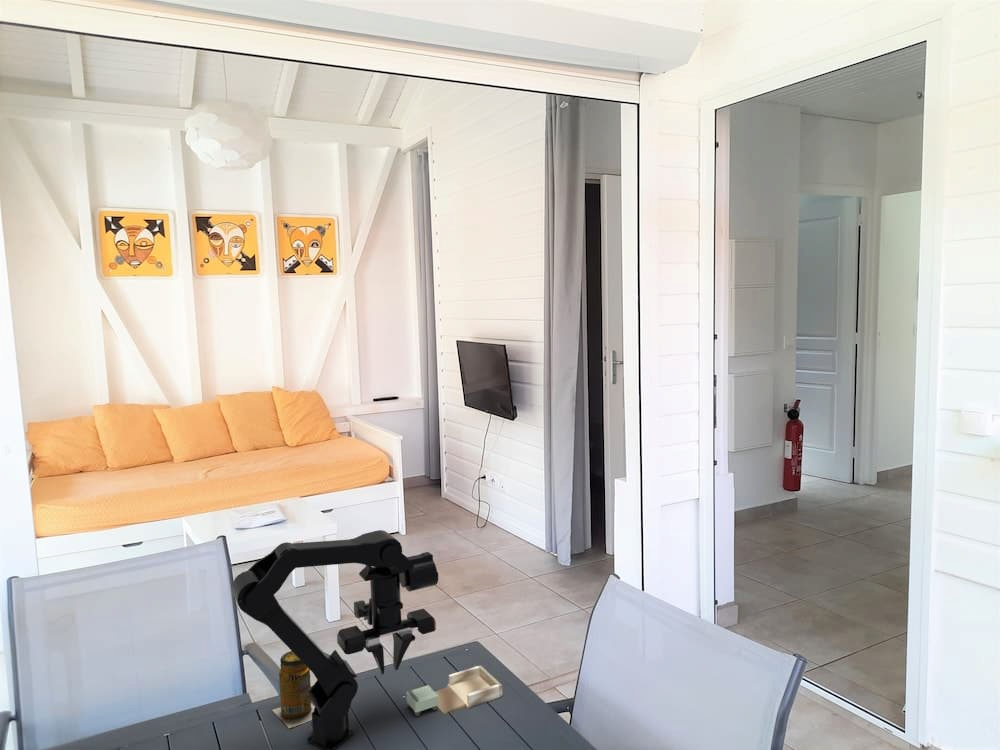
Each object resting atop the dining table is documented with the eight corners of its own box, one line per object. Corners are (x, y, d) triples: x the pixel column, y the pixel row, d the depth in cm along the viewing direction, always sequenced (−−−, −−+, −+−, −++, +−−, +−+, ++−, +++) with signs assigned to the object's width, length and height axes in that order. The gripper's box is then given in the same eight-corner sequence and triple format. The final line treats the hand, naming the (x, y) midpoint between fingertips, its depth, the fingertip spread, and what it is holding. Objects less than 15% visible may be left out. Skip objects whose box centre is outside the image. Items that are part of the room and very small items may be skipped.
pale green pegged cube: (415, 717, 145) (415, 700, 144) (406, 706, 149) (406, 689, 149) (438, 710, 147) (438, 693, 147) (429, 699, 152) (428, 682, 151)
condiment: (305, 698, 153) (302, 644, 152) (323, 715, 147) (320, 659, 145) (272, 711, 148) (268, 655, 147) (289, 729, 142) (285, 672, 141)
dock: (445, 717, 146) (445, 703, 145) (426, 695, 154) (425, 682, 153) (502, 698, 152) (502, 685, 152) (480, 677, 160) (480, 665, 160)
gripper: (413, 572, 153) (416, 642, 155) (327, 592, 144) (331, 666, 146) (435, 591, 144) (438, 665, 146) (344, 613, 135) (348, 692, 137)
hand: (388, 671), depth 144 cm, fingers open, 3 cm apart
